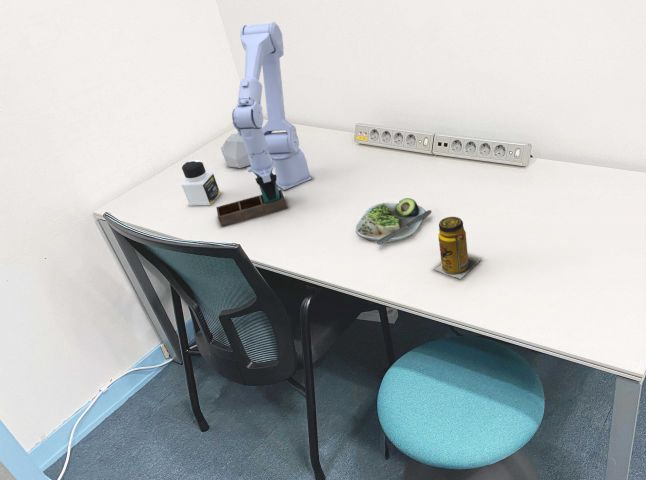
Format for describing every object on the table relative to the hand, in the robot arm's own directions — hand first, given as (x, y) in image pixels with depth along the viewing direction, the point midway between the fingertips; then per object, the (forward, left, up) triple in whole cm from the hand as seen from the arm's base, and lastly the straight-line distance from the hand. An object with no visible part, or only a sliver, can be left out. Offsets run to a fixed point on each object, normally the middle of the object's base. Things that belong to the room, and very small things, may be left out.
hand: (270, 194), depth 170 cm
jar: (0, 0, -2) cm, 2 cm away
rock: (-9, -37, -4) cm, 38 cm away
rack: (+6, -2, -4) cm, 7 cm away
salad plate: (-19, +33, -4) cm, 39 cm away
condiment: (-20, +59, -4) cm, 63 cm away
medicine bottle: (+14, -21, -4) cm, 25 cm away
